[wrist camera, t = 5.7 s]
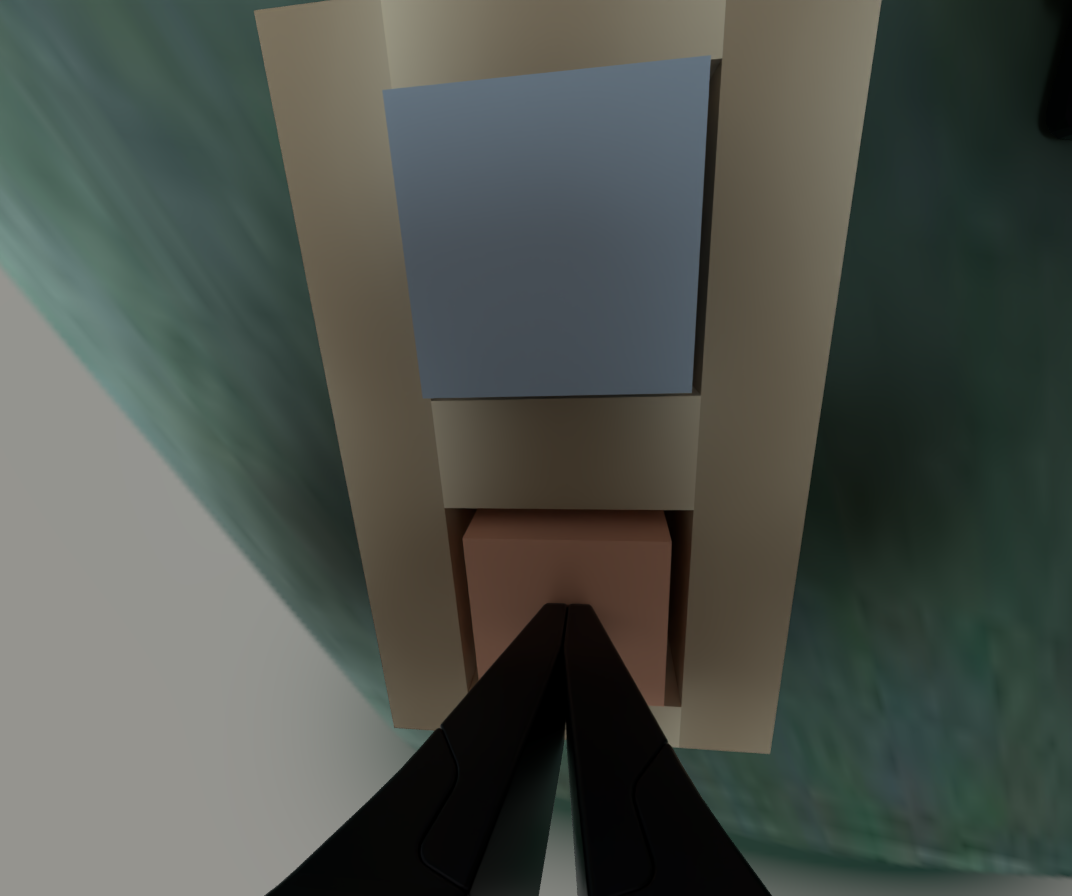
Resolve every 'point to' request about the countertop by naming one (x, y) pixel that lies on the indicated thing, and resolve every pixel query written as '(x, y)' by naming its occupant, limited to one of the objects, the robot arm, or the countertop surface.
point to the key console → (587, 420)
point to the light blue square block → (553, 228)
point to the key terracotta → (573, 580)
